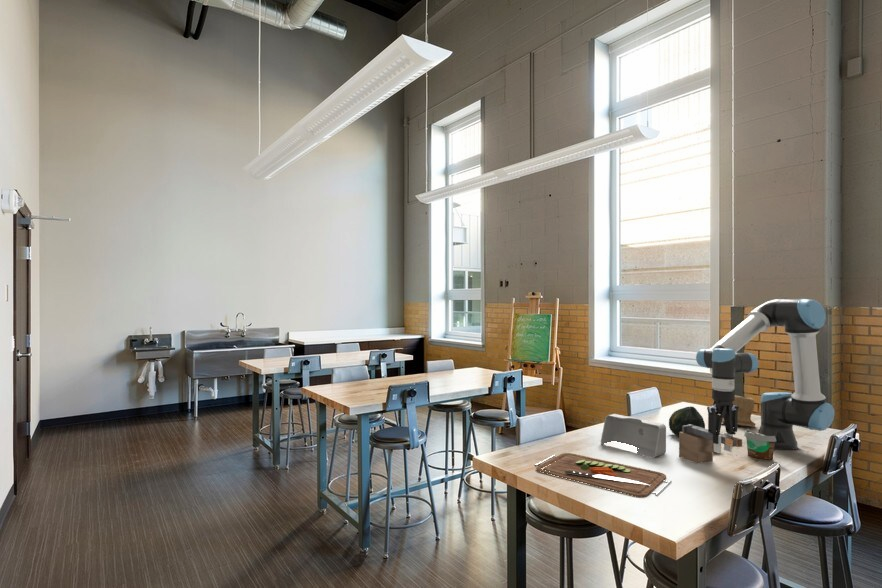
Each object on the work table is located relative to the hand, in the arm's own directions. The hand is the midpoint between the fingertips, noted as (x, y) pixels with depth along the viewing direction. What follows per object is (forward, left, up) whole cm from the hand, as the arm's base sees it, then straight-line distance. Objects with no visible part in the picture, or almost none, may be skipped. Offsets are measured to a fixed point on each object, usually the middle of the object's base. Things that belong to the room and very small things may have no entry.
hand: (722, 451), depth 190 cm
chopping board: (+47, -11, -7) cm, 49 cm away
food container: (-25, -6, -7) cm, 27 cm away
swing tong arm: (+1, -4, +4) cm, 6 cm away
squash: (-24, -40, -7) cm, 47 cm away
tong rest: (0, -5, -7) cm, 9 cm away
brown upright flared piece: (-66, -48, -7) cm, 82 cm away
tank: (+12, -33, -7) cm, 35 cm away
